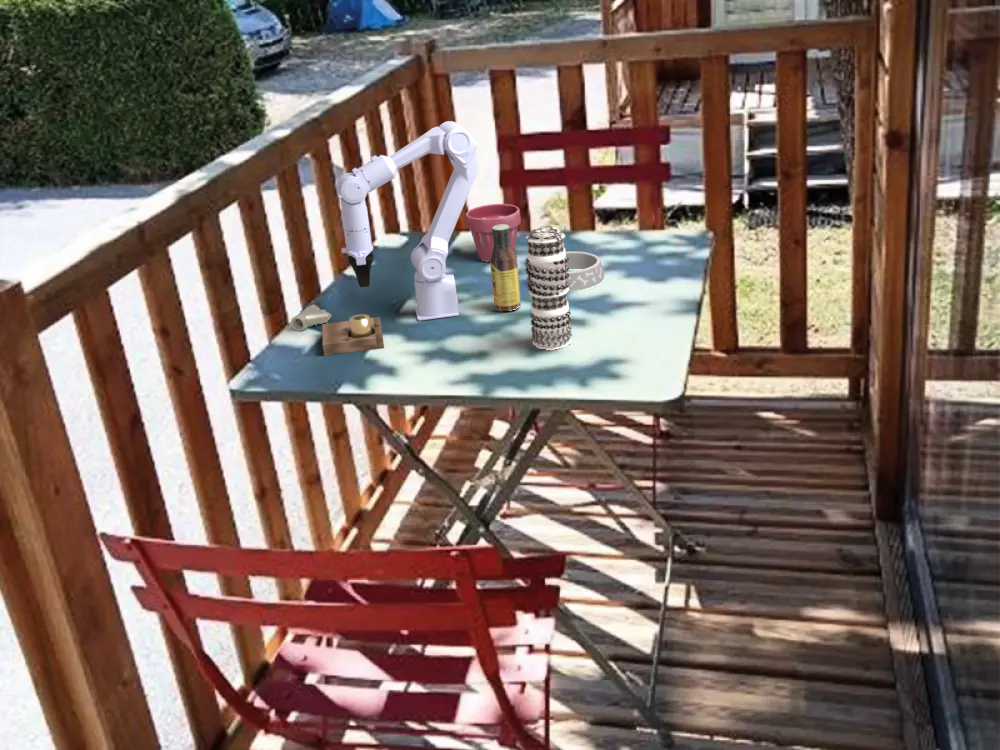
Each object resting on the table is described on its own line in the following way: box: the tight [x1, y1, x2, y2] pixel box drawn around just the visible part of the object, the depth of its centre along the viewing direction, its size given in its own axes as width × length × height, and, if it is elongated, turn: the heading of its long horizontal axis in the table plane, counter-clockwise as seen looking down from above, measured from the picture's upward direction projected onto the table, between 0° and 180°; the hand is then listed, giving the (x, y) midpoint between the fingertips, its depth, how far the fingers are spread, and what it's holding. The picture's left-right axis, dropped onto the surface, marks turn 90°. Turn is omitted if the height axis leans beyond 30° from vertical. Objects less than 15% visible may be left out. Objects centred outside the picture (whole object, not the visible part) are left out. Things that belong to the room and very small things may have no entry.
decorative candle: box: [524, 226, 573, 351], centre depth 236 cm, size 9×9×25 cm
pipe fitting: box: [290, 304, 332, 332], centre depth 263 cm, size 8×4×7 cm
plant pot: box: [465, 203, 522, 261], centre depth 296 cm, size 14×14×13 cm
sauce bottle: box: [489, 224, 521, 312], centre depth 259 cm, size 7×6×20 cm
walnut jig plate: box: [322, 316, 385, 357], centre depth 251 cm, size 13×13×2 cm
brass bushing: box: [348, 313, 372, 338], centre depth 249 cm, size 4×4×6 cm
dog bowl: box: [564, 250, 605, 291], centre depth 276 cm, size 17×18×5 cm
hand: (364, 286), depth 257 cm, fingers closed
